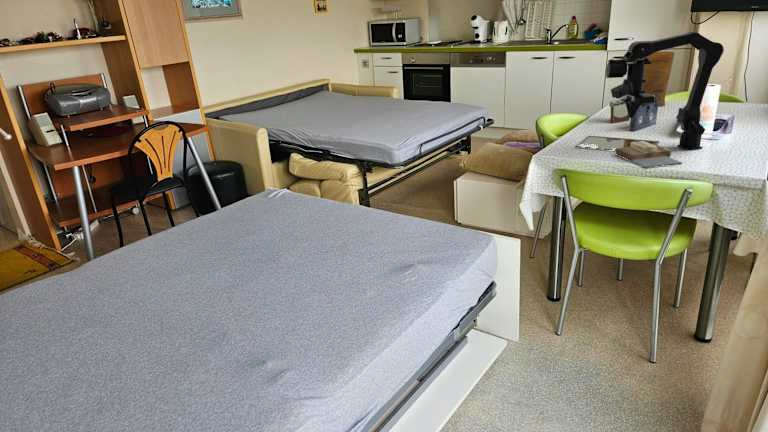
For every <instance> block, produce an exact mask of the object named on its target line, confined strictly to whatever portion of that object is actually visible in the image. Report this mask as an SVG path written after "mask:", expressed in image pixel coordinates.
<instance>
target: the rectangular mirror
mask: <svg viewBox="0 0 768 432" xmlns="http://www.w3.org/2000/svg"><path fill="white" fill-rule="evenodd" d="M637 141H644V142H647V143H649V144H655V145H658V144H659V143H660V141H659V140H649V139H647V140H646V139H637V138H635V139H634V138H625V137H624V138H623V137H622V138H621V137H612V136H611V137H609V136H598V135H597V136H596V135H588V136H587V137H585V138H584V139H583V140H581V142H579V143H578V144H577V145H575V147H581V146H578V145H580V144H584V145H585V144H586V143H587V144H588V145H589V144H590V145H591V144H594V145H595V144H596V146H597V145H598V148H596V149H602V148H603V149H604V150H613V149H612V148H614V149H615V148H625V147H630V143H631V142H637ZM587 144H586V145H587ZM585 148H591V147H585ZM604 150H603V151H604ZM615 151H616V149H615ZM615 151H614V152H615Z"/></svg>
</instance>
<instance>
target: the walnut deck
mask: <svg viewBox="0 0 768 432" xmlns="http://www.w3.org/2000/svg"><path fill="white" fill-rule="evenodd" d="M652 145H655V144H652ZM655 146H657V152H650V153H643V152H640V151H638V150H635V149H633V148H631V147H625V148H616V152H615V154H617V155H619V156H621V157H624V158H626V159H628V160H630V161H631V160H636V159H644V158H652V157H661V156H667V157H669V158H671V153H672V150H671V149H668V148H666V147H663V146H660V145H658V144H657V145H655ZM617 155H616V156H617ZM619 156H618V157H619ZM621 157H620V158H621ZM624 158H623V159H624ZM626 159H625V160H626ZM628 160H627V161H628ZM630 161H629V162H630Z"/></svg>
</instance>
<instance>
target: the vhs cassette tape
mask: <svg viewBox="0 0 768 432" xmlns="http://www.w3.org/2000/svg"><path fill="white" fill-rule="evenodd" d="M658 109H659V106H658V103H651V104H647V105H644V106H640V107H639V108H638V110H637V111H636V113H635V114H634V116H633V117H632V118H630V120H629V122H630V123H629V131H630V132H637V131H640V130H643V129H646V128H649V127H652V126H655V125H656V124H657V118H658Z"/></svg>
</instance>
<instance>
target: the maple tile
mask: <svg viewBox="0 0 768 432" xmlns="http://www.w3.org/2000/svg"><path fill="white" fill-rule="evenodd" d="M630 147H631V148H633V149H635V150H638V151H640V152H643V153H650V152H657V146H655V145H652V144H649V143H647V142H644V141H637V142H631V143H630Z"/></svg>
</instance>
